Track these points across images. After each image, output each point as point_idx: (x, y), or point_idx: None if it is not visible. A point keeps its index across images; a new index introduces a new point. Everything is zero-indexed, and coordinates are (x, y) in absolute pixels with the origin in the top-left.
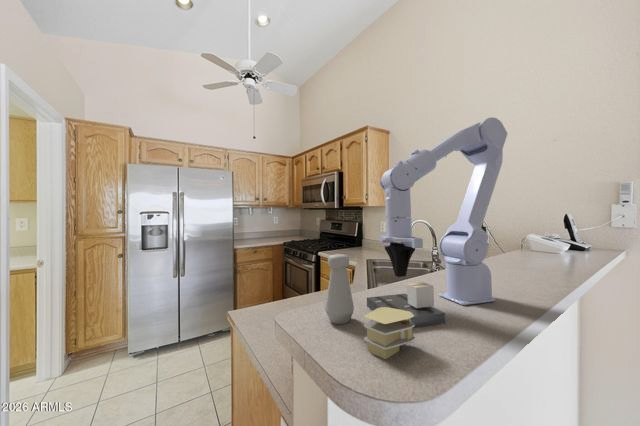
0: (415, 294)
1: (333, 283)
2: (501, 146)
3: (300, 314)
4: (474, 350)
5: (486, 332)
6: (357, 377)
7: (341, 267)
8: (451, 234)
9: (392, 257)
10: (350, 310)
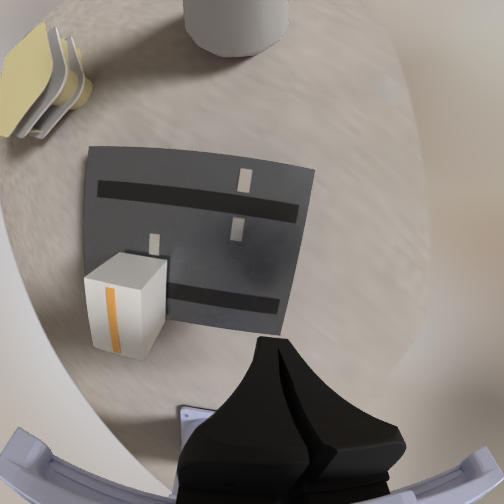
0: (102, 268)
1: None
2: None
3: None
4: (20, 236)
5: (60, 318)
6: (48, 25)
7: None
8: None
9: (298, 400)
10: (186, 29)
